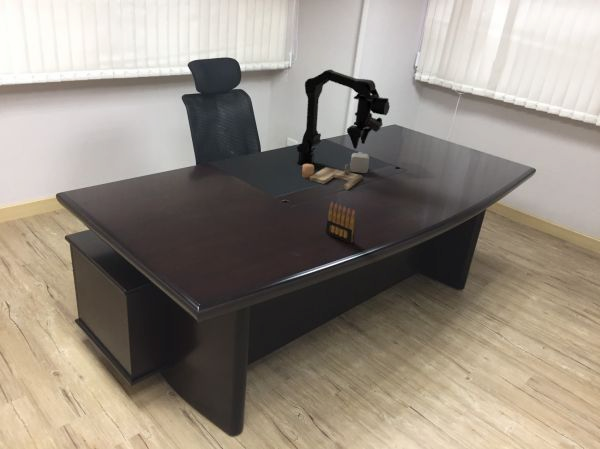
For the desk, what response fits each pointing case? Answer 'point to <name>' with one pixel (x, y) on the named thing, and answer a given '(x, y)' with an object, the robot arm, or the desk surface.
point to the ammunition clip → (341, 223)
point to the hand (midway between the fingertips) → (359, 146)
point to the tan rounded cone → (307, 170)
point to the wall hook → (359, 162)
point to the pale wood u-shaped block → (336, 176)
